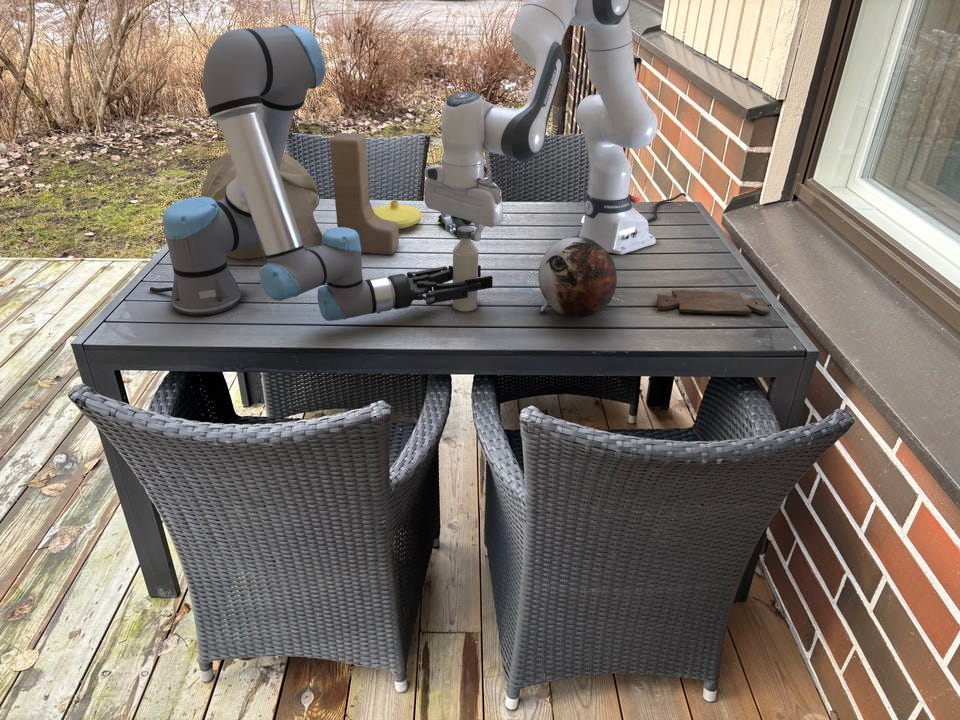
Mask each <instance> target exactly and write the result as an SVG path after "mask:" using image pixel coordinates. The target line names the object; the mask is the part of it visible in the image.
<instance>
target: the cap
mask: <svg viewBox="0 0 960 720" xmlns="http://www.w3.org/2000/svg"><path fill="white" fill-rule="evenodd" d="M474 231H475V227H473V226H470V225H467V226H462V227H459V228H458V229H457V236H456V237H458V238H459V239H460V238H462V239H470V238H471V233H472V232H474Z"/></svg>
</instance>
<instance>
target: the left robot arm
mask: <svg viewBox="0 0 960 720" xmlns="http://www.w3.org/2000/svg"><path fill="white" fill-rule="evenodd" d="M325 63H326V62H325V58H324V54H323V52H322V48H321V46H320V44H319V42H318V40H317V39H316V37H315V36H314V34H312V33H311V31H310V30H309V29H307V28H306V27H304V26H303V25H299V24H298V25H297V24H289V25H288V24H285V23H283V24H280V25H278V26H269V27H268V26H266V27H253V28H237V29H236V28H235V29H231V30H228V31H226V32H224V33H222V34H221V35H220V36H218V37H217V38H216V39H215V40H214V41H213V42H212V45H210V48H209V50H208V52H207V54H206V57H205V60H204V64H203V72H202V89H203V98H204V101H205V105H206V108H207V111H208V114H209V117H210V119H211V120H213V121H215V122H216V123H217V124H219V127H220V131H221V134H223V136H224V137H223V139H224V142H225V145H226V147H227V150H228V153H230V156H231V159H232V162H233V165H234V168H235V170H236V173H237V174H236V179H234V180H232V181H231V182H230V183H229V184H228V186H227V188H226V193H225V198H224V199H221V200H218V201H215V200H214V199H212V198H210V197H201V196H196V197H188V198H184V199H180V200H178V201H176V202H174V203H172V204H171V205H169V206H168V207H167V208H166V209H165V211H164V212H163V214H162V225H163V234H164V236H165V240H166V244H167V249H168V253H169V257H170V262H171V265H172V271H173V282H172V286H170V287H169V286H168V287H153V286H151V287H149V291H150V292H152V293H153V292H154V293H167V292H171V296H170V297H171V298H170V300H171V305H172V309H173V310H174V311H175V312H177V313H178V314H181V315H185V316H190V317H203V316H204V317H205V316H212V315H213V316H214V315H217V314H220V313H224V312H228V311H229V310H231V309H233V308H235V307H236V306H238V305H239V304H240V303H241V301H242V299H243V298H242V291H241V288H240V286H239V283H238V281H236V278H235V276H234V275H233V273H232V272H231V270H230V268H229V265H228V259H227V255H226V253H228V252H231V251H234V250H238V249H241V248H244V247H248V246H251V245H254V244H257V243H261V244H262V249H263V252H264V255H265V259H266V262H267V263H266V264H264V265H263V266H261V268H260V270H259V272H258V273H259V274H258V275H259V283H260V285H261V288H262V290H263V292H264V293H265V294H266V295H267V296H268V297H269V298H270V299H272V300H274V301H275V302H276V301H277V302H282V301H284V300H288V299H291V298H294V297H295V298H296V297H299V296H300V295H301V294H302V295H303V294H304V293H307V292H309V291H311V290H314V289H316V288H318V289H317V303H318V307H319V312H320V314H321V316H322V317H323V319H324V320H325V321H327V322H332V321H333V322H335V321H342V320H344V321H346V320H347V319H352V318H357V317H361V316H366V315H372V314H373V315H374V314H379V315H380V314H381V313H383V312H389V311H392V310H396V311H397V310H401V309H406V308H410V307H411V305H412V303H413V301H425V305H427V306H432V305H435V304H438V303H444V302H449V301H453V300H457V299H463V298H468V292H472V291H477V290H478V291H482V290H488V289H493V284H494V283H493V282H494V281H493V280H494V276H493V275H486V276H482V266H481V265H480V264H478V278H475V279H469V280H465V282H462V283H453V282H450V281H453V265H448V266H439V267H434V268H428V269H424V270H418V271H408V272H406V274H404V273H398V274H392V275H388V276H387V277H386V276H385V275H384V276H378V277H374V278H373V277H372V278H368V279H364V278H363V277H364V276H363V264H362V263H363V262H362V252H361V245H360V240H359V235H358V233H357V232H356V231H355V230H353V229H350V228H345V227H338V226H337V227H332V228H328V229H326V231H324V232H323V233H322V245H321V246H314V247H311V248H309V249H307V250H306V247H304V246H303V243H302V240H301V237H300V234H299V231H298V228H297V225H296V222H295V219H294V215H293V212H292V209H291V206H290V203H289V200H288V197H287V194H286V191H285V188H284V185H283V182H282V179H281V176H280V173H279V171H280V166H281V162H282V158H283V154H285V151H286V150H285V149H286V145H287V142H288V137H289V133H290V130H291V125H292V121H293V118H294V117H293V116H294V114H295V112H297V111H299V110H301V109H302V108H303V106H304V104H305V102H306V98H307V94H308V90H309V89H312V90H314V89H316V88H317V87H319V86H321V84H322V83H323V81H324V79H325V75H326V66H325Z"/></svg>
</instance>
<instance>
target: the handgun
mask: <svg viewBox="0 0 960 720" xmlns="http://www.w3.org/2000/svg"><path fill="white" fill-rule="evenodd" d="M451 219H452V222H453V224H455V232H453V233H454V235H455V236H456V237H458V236H457V229H458V228H459V227H462V226H470V225H471V221H468V220H465V219H462V218H458V217H455V216H452V215H451ZM437 223H439V224H440V227H441V228H445V223H444V221H443V219H442V217H441V214H439V215H438V219H437Z"/></svg>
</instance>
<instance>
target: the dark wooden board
mask: <svg viewBox="0 0 960 720" xmlns="http://www.w3.org/2000/svg"><path fill="white" fill-rule="evenodd" d="M671 295H672V296H669V295H666V294H661V293H660V294H659V293H658V294H657V298H656V299H657V300H656V302H657V310H658V311H667V310H671V309H675V308H678V312H681V313H694V314H718V315H719V314H721V315H740V316H741V315H752V312H754V313H756V314H760V315H769V314H771V310H770V308H769V307H768V305H767V303H766V301H765V299H764V298H762V297H749V298H745V299H743V296H742V293H741V292H739V291H738V292H736V291H735V292H734V291H709V290H689V289H687V290H686V289H672V290H671Z"/></svg>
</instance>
